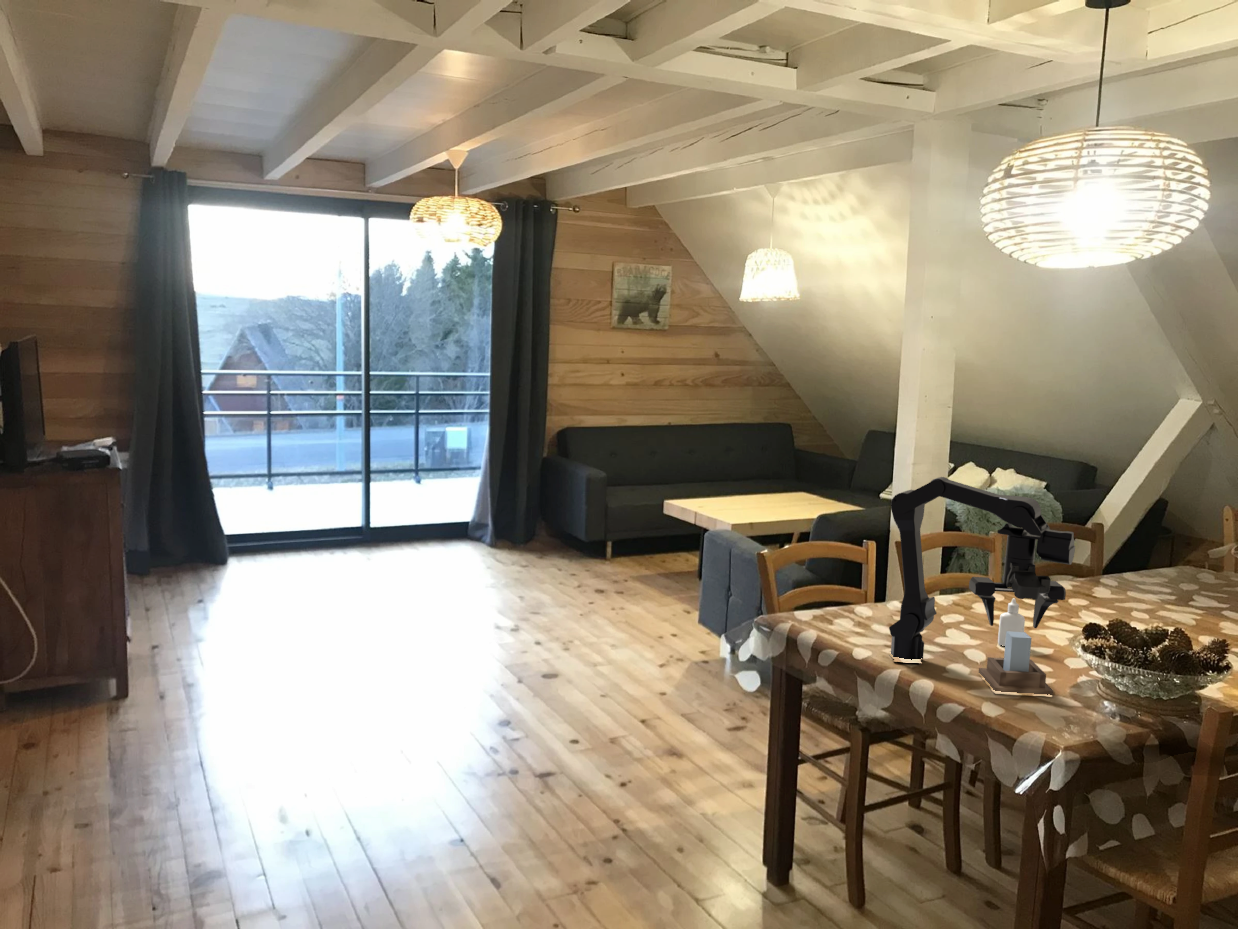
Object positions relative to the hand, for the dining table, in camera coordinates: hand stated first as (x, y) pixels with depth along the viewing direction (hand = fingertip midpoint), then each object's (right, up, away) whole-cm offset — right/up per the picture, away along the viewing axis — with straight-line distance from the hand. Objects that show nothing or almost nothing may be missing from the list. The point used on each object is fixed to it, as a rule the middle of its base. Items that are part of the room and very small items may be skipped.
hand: (1013, 626), depth 210 cm
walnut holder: (0, -13, 0) cm, 13 cm away
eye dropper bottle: (+10, -9, +27) cm, 30 cm away
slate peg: (0, -11, 0) cm, 11 cm away
